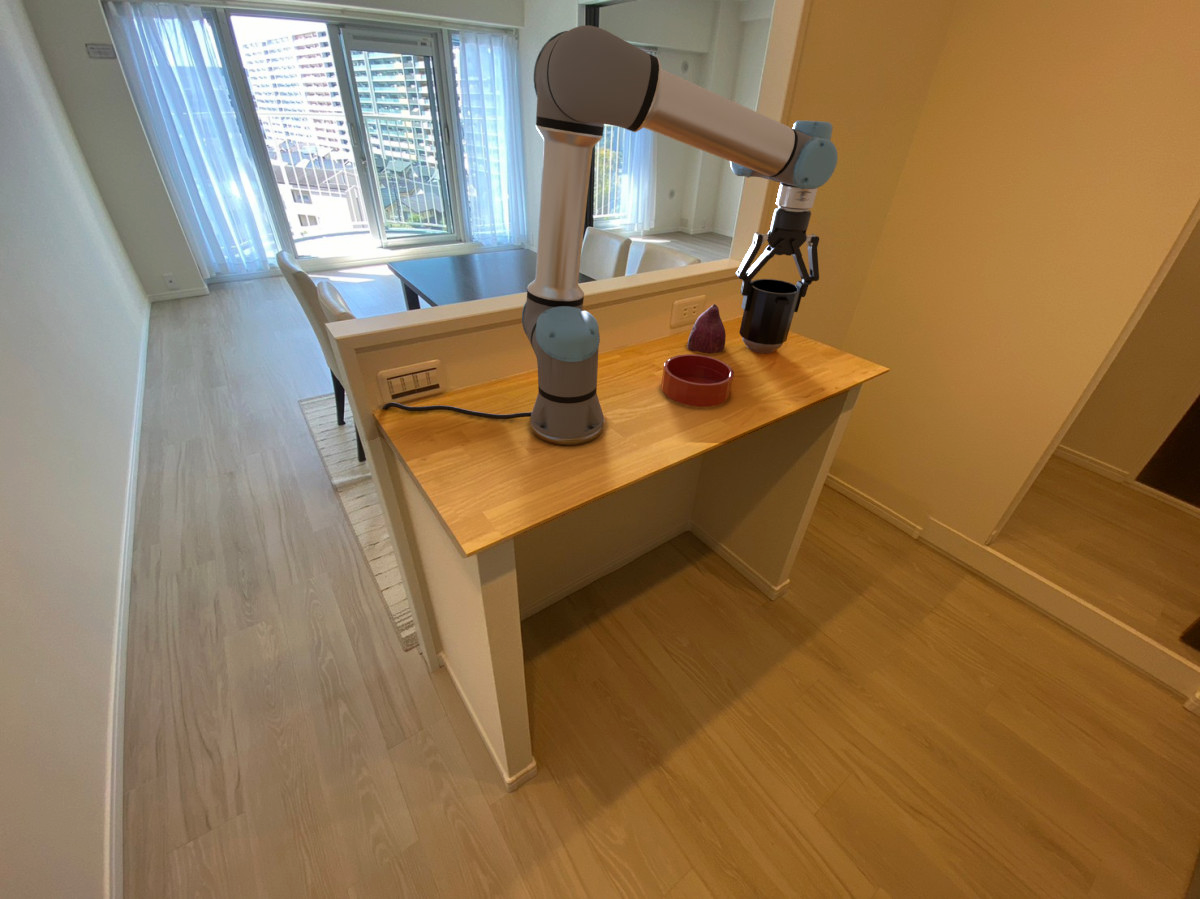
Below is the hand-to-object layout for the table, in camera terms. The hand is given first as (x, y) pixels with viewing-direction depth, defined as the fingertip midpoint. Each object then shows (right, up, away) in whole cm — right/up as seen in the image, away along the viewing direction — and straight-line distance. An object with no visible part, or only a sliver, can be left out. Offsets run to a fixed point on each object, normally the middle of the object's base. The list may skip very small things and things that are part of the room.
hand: (769, 309), depth 116 cm
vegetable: (-10, -5, +23) cm, 25 cm away
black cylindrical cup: (0, -5, +4) cm, 6 cm away
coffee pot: (+10, -3, +27) cm, 28 cm away
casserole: (-18, -19, +1) cm, 26 cm away
